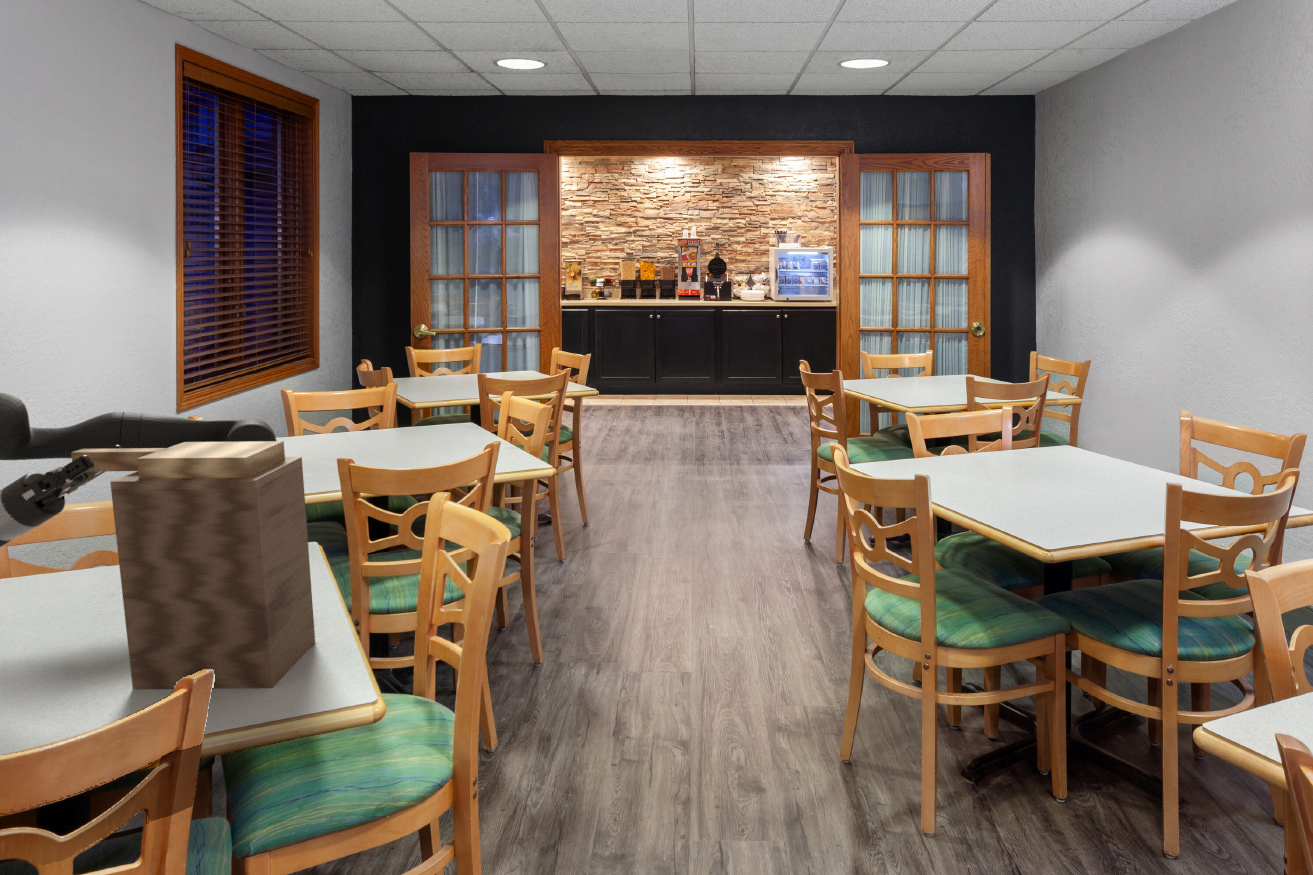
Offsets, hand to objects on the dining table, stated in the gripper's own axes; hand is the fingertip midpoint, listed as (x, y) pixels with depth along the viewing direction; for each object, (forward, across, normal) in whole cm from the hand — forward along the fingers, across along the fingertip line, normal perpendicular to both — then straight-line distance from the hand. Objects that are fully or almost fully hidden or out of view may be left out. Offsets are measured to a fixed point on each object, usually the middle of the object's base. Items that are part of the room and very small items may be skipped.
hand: (106, 454), depth 142 cm
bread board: (+8, 0, +7) cm, 10 cm away
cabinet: (-3, 0, +38) cm, 38 cm away
